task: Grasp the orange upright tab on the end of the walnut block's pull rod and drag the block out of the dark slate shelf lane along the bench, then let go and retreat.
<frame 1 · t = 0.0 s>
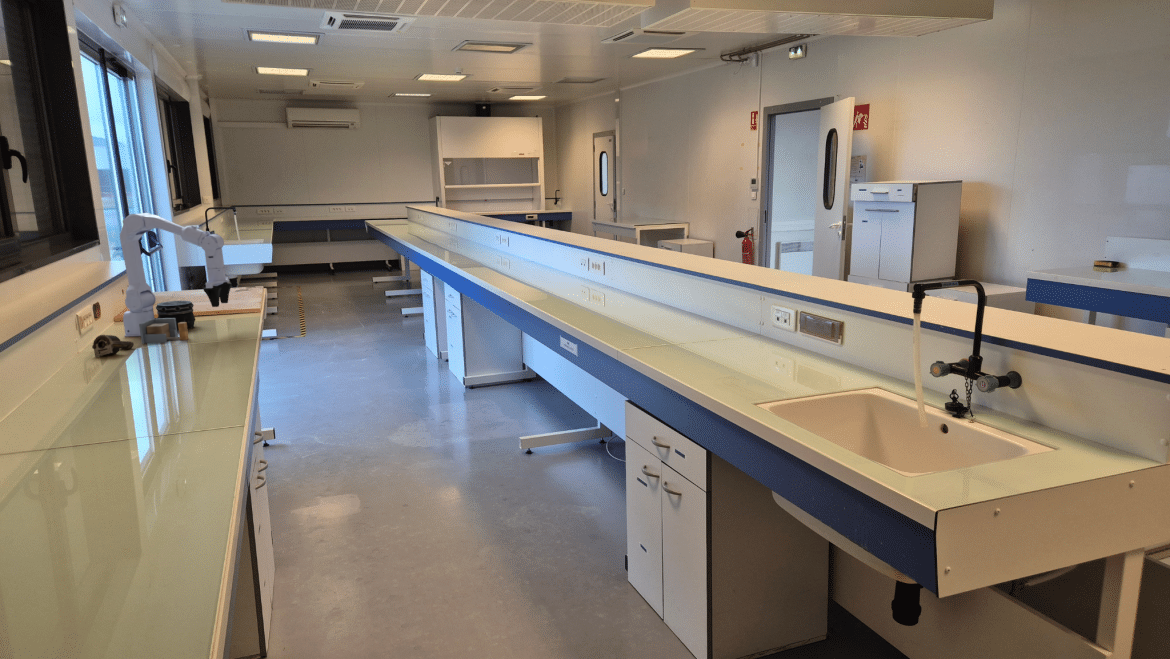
hand: (220, 304, 269), 10 cm above the table, fingers open, 7 cm apart
sled: (168, 331, 258), point 3 cm above the table, slide at 0.0 cm
container: (177, 329, 279), on the table
lane: (159, 340, 258), on the table
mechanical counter: (116, 354, 241), on the table
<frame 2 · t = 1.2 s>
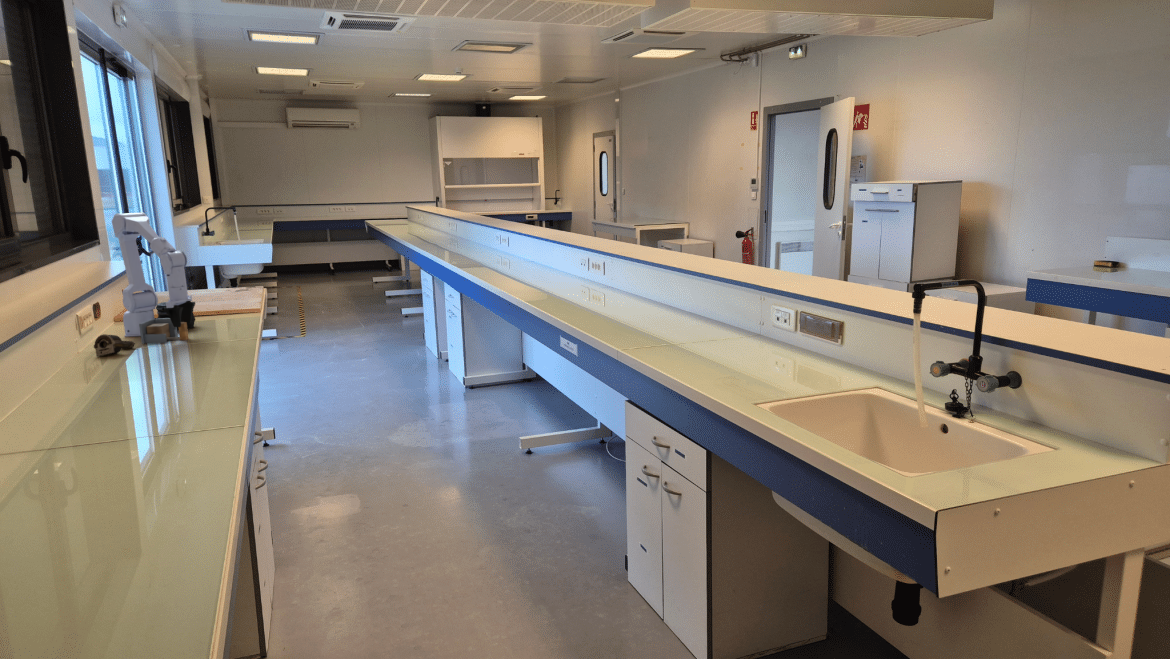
hand: (182, 324, 257), 5 cm above the table, fingers open, 7 cm apart
nothing on the table moved.
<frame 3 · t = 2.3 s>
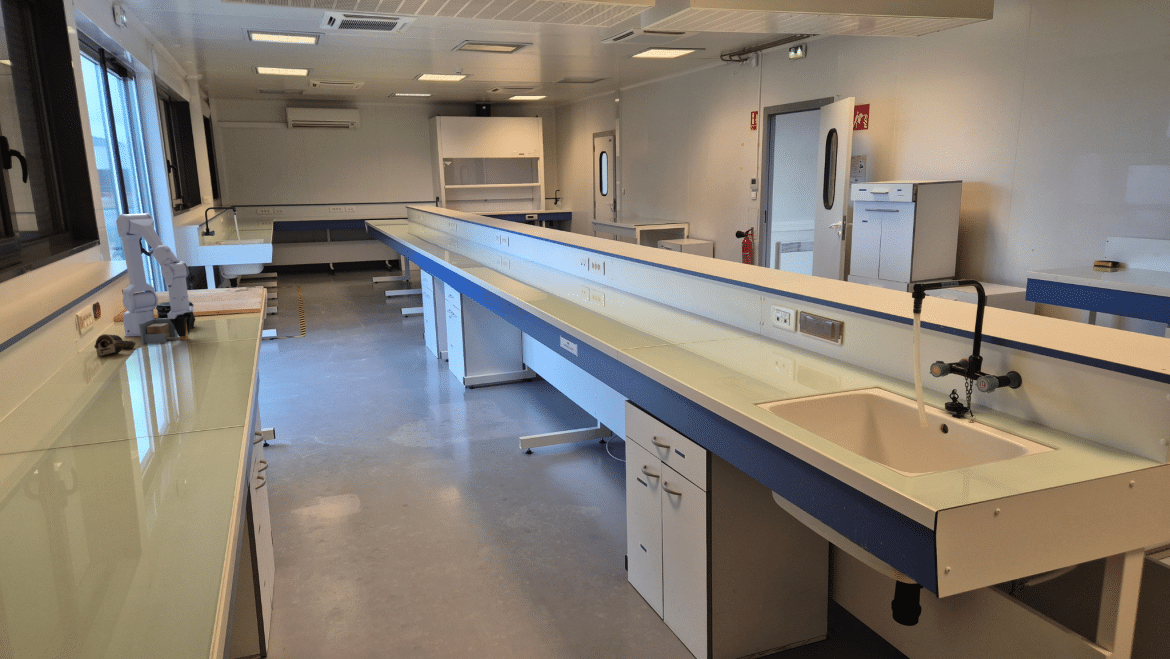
hand: (183, 335, 258), 2 cm above the table, fingers closed on sled, 2 cm apart
sled: (168, 331, 258), point 3 cm above the table, slide at 0.0 cm, touching gripper
everything else where it was.
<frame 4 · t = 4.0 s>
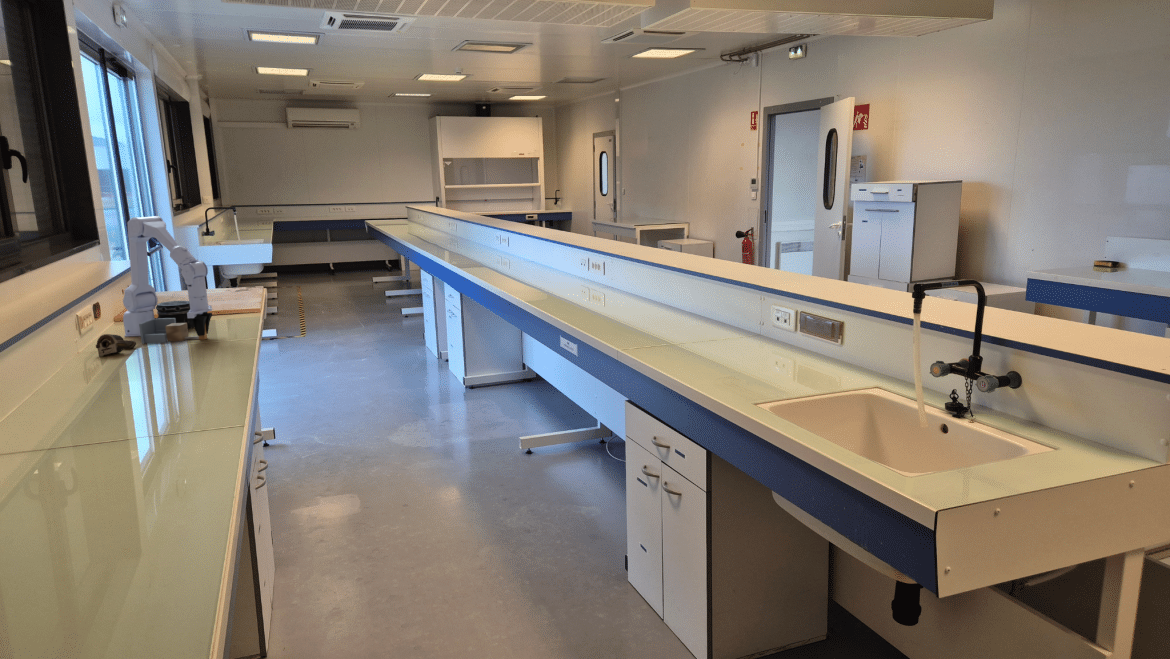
hand: (202, 334, 259), 2 cm above the table, fingers closed on sled, 2 cm apart
sled: (187, 331, 258), point 3 cm above the table, slide at 6.4 cm, touching gripper
everything else where it was.
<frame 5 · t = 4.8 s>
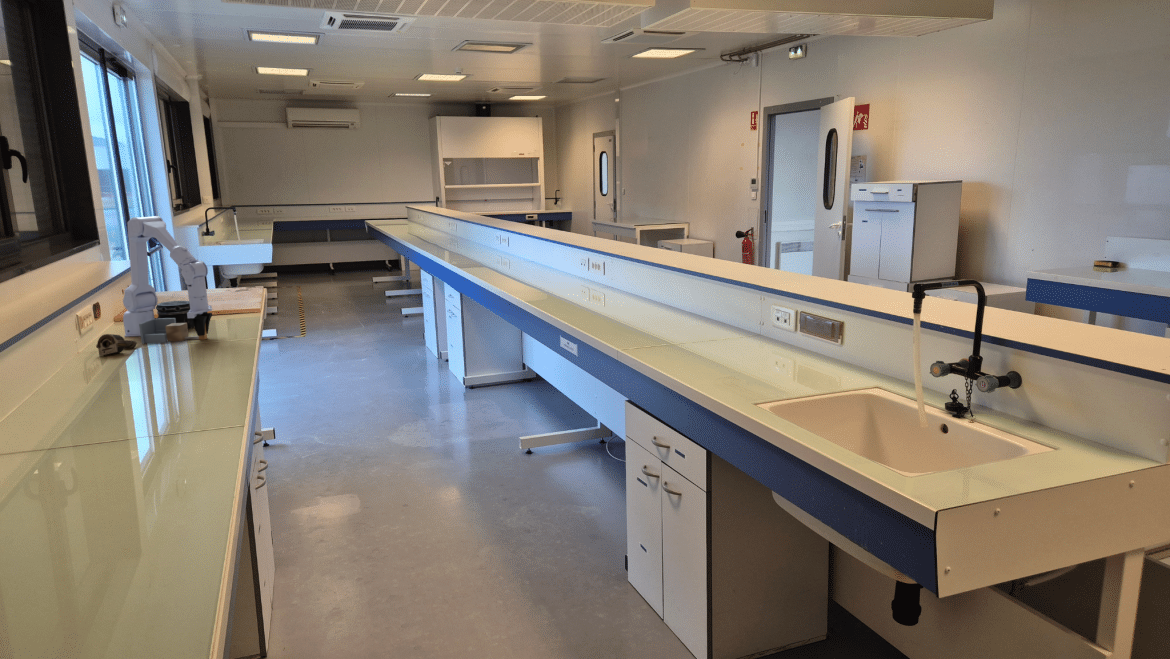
hand: (202, 334, 259), 2 cm above the table, fingers closed on sled, 2 cm apart
sled: (187, 331, 258), point 3 cm above the table, slide at 6.4 cm, touching gripper
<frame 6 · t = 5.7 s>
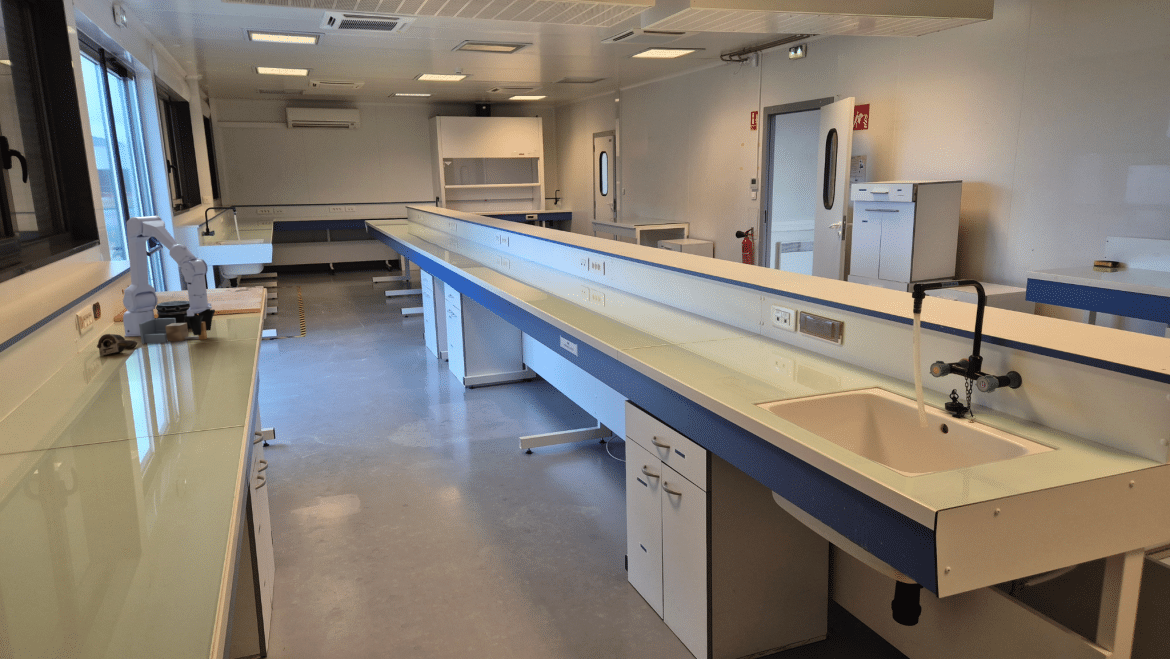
hand: (202, 332, 259), 2 cm above the table, fingers open, 7 cm apart
sled: (187, 331, 258), point 3 cm above the table, slide at 6.4 cm
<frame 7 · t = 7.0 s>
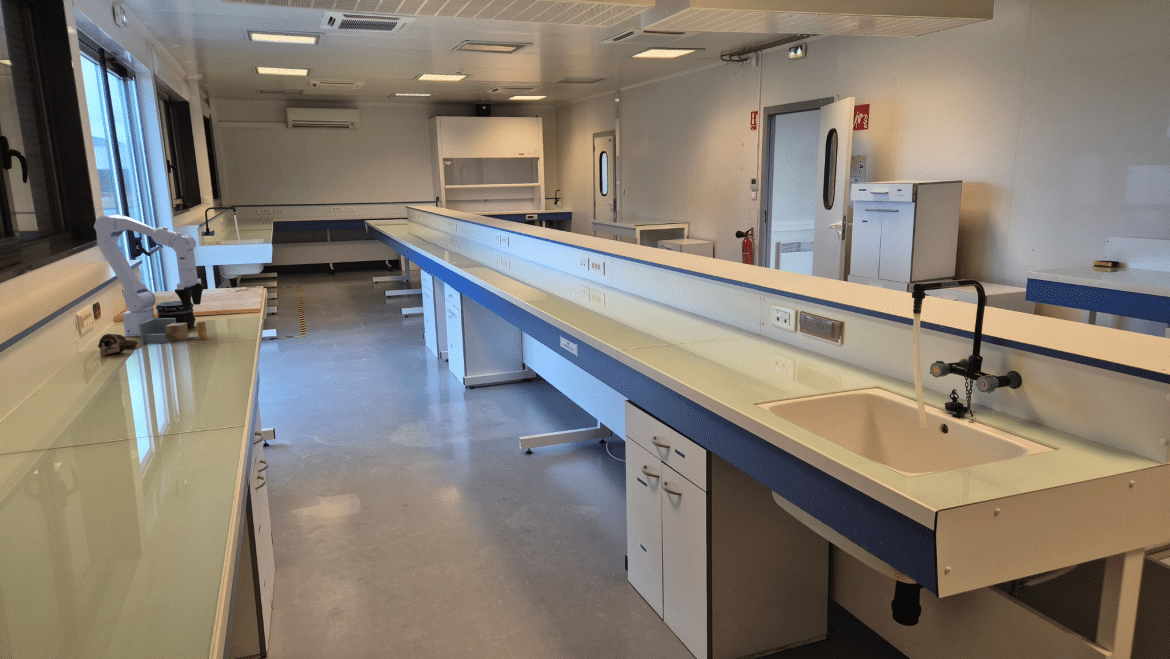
hand: (192, 306, 268), 10 cm above the table, fingers open, 7 cm apart
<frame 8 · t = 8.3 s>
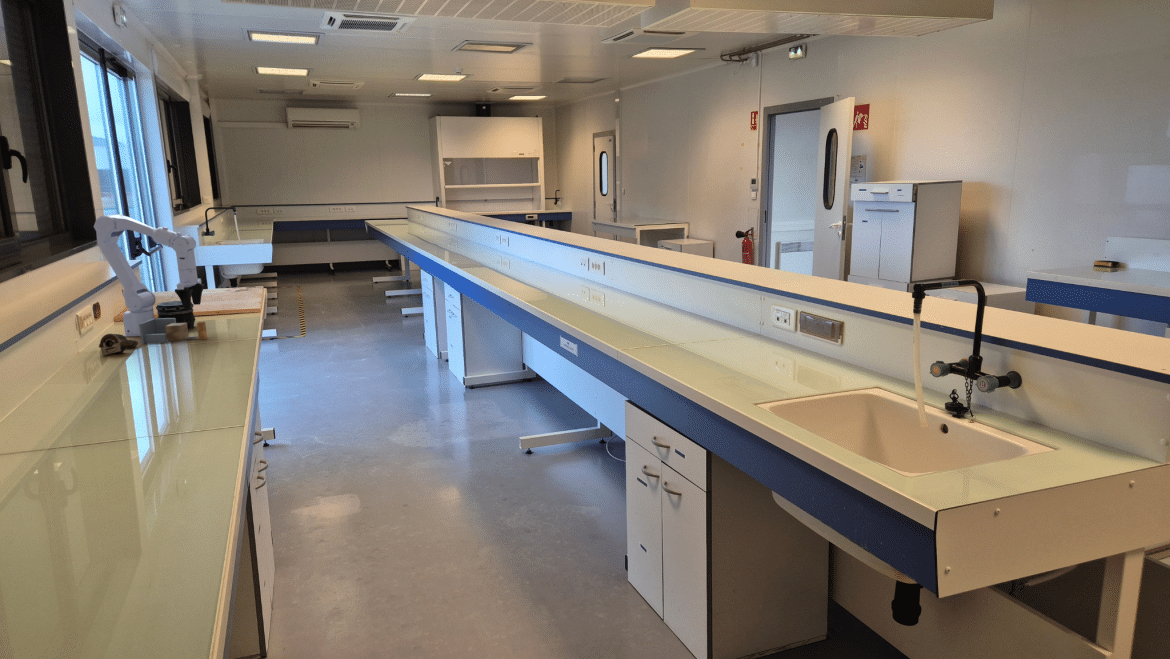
hand: (192, 306, 268), 10 cm above the table, fingers open, 7 cm apart
at the end: sled slide at 6.4 cm; the gripper is holding nothing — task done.
